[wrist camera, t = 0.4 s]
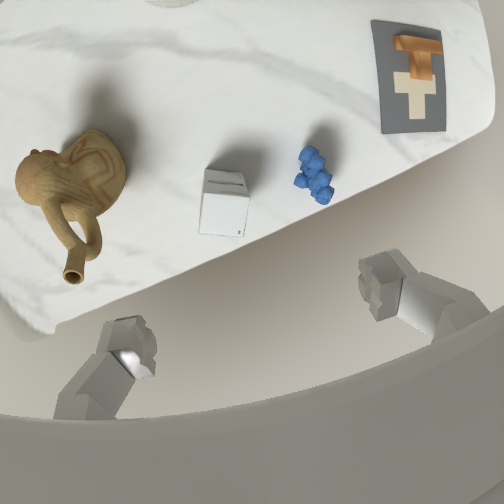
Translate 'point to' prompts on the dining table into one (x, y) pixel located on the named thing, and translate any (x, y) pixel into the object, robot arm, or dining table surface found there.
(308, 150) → the blue lumpy cluster
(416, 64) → the t block
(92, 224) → the ceramic vessel
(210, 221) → the supplement box
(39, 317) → the dining table surface
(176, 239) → the dining table surface
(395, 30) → the push board
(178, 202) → the dining table surface
